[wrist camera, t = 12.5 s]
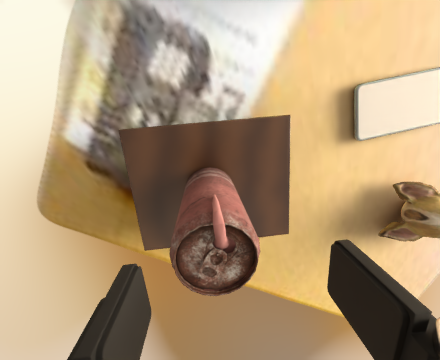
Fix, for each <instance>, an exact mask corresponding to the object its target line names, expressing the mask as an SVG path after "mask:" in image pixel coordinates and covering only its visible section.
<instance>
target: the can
mask: <svg viewBox="0 0 440 360" xmlns="http://www.w3.org/2000/svg"><path fill="white" fill-rule="evenodd" d="M259 254H260V245H259V239H258V236H257V234H256V232H255V230H254V228H253V226H252V223H251V221H250V219H249V217H248V215H247V213H246V210H245V208H244V206H243V204H242V202H241V200H240V197H239V195H238V193H237V191H236V189H235V187H234V184H233V182H232V180H231V178H230V177H229V176H228V175H227V174H226V173H225V172H224V171H222V170H220V169H217V168H211V167H209V168H203V169H200V170H198V171H196V172H194V173H193V174H192V175H191V176H190V177H189V179H188V181H187V183H186V186H185V190H184V194H183V197H182V201H181V205H180V209H179V213H178V217H177V221H176V225H175V229H174V233H173V236H172V240H171V246H170V259H171V263H172V267H173V268H174V270H175V273H176V276H177V277H178V278H179V280H180V281H181V283H182V284H183V285H185V286H186V287H187V288H189V289H190V290H191V291H194V292H197V293H200V294H202V295H210V296H218V295H224V294H229V293H231V292H233V291H235V290H238V289H240V288H241V287H242V286H243V285H245V284H246V283H247V282H248V281H249V280H250V279H251V277H252V276H253V274H254V272H255V271H256V267H257V263H258V258H259Z"/></svg>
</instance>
